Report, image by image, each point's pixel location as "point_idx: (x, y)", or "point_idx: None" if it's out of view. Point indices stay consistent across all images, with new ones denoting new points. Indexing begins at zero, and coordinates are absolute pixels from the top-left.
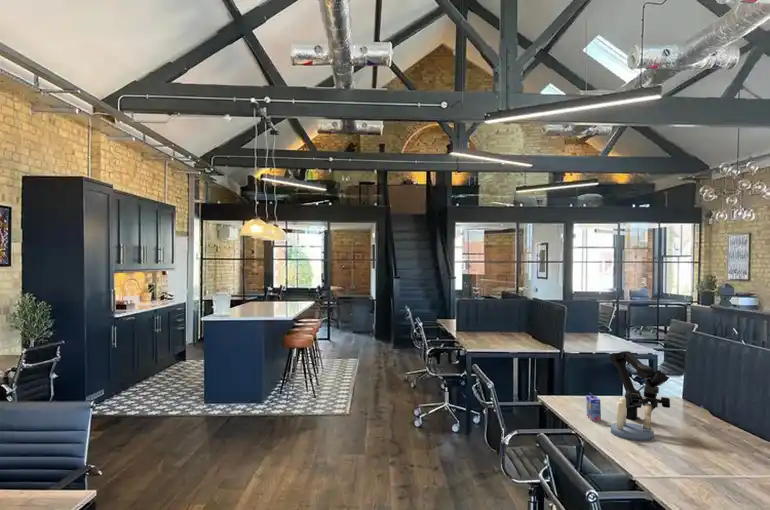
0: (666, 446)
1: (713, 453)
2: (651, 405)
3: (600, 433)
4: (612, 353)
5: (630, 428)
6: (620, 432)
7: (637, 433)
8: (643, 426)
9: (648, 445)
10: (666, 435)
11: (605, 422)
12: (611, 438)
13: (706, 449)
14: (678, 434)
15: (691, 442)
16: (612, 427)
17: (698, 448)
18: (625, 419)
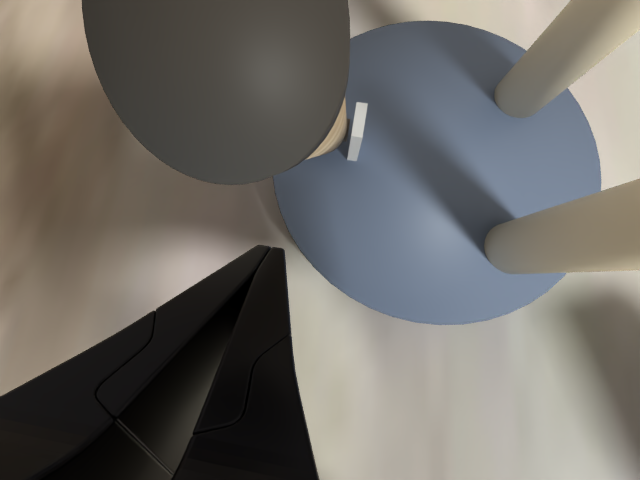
0: None
1: (15, 24)
2: (110, 5)
3: (609, 108)
4: None
5: (443, 152)
6: (503, 47)
7: (391, 48)
8: (349, 120)
9: None
10: (191, 257)
11: (636, 434)
12: (529, 39)
13: (27, 73)
14: (101, 323)
15: (69, 168)
16: (578, 117)
17: (65, 72)
18: (528, 220)
